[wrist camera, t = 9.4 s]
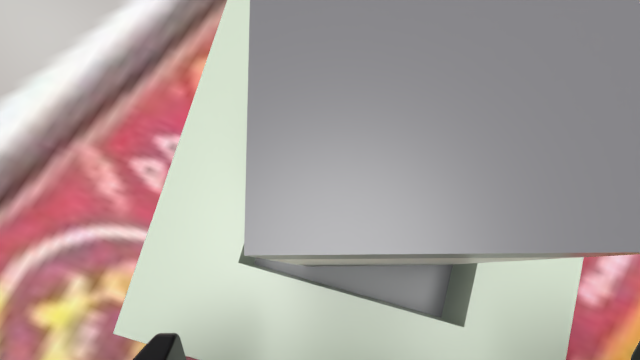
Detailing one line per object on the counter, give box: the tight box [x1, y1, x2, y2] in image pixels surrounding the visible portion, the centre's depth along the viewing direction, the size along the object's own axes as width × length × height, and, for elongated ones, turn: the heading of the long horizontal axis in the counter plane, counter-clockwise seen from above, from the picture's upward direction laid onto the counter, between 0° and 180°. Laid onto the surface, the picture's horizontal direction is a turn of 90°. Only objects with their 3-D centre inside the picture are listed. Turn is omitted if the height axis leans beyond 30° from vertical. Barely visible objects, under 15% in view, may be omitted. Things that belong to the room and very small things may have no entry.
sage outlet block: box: [113, 0, 584, 360], centre depth 17 cm, size 13×13×4 cm
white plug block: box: [244, 0, 640, 266], centre depth 12 cm, size 5×5×12 cm
